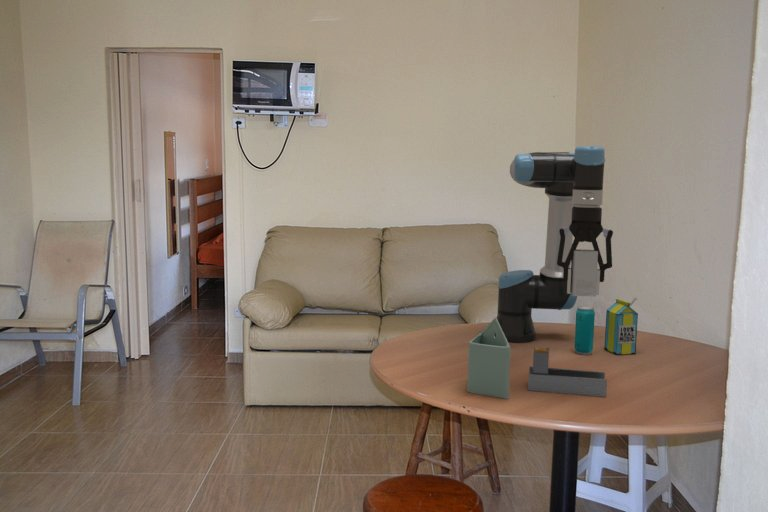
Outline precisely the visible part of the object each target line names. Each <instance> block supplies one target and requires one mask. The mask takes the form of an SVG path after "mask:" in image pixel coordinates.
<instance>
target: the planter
mask: <svg viewBox="0 0 768 512" xmlns="http://www.w3.org/2000/svg"><path fill="white" fill-rule="evenodd" d="M495 333H496V338H495ZM511 349H512V348H511V346H510V342H508V341H507V339H506V337H505V335H504V333H503V331H502V329H501V326H500V324H499V322H498V320H497V317H494V318H493V319H492V320H491V322H489V324H488V325H487V326H486V327H484V328H483V330H482V331H480V332H479V334H478V335H476V336H475V337H474V338H473V339H471V340H470V341H469V342H468V356H467V359H468V362H467V389H466V390H467V391H468V392H467V391H466V392H467V393H469V392H471V393H470V394H474V393H476V395H481V396H487V397H492V396H493V398H499V399H504V400H505V399H506V400H509V398H510V379H511V378H510V377H511V374H510V372H511Z"/></svg>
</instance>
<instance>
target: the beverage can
mask: <svg viewBox="0 0 768 512" xmlns="http://www.w3.org/2000/svg"><path fill="white" fill-rule="evenodd" d="M575 312H576V313H575V328H574V329H575V330H574V350H575V353H576V354H578V355H582V356H588V355H591V354H592V352H593V350H594V338H595V337H594V336H595V335H594V333H595V315H596V313H595V308H594V306H589V305H578V306H577V308H576V311H575Z"/></svg>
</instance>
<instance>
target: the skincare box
mask: <svg viewBox="0 0 768 512" xmlns="http://www.w3.org/2000/svg"><path fill="white" fill-rule="evenodd" d="M598 265H599V264H598V251H594V249H582V248H581V249H577V248H576V250H574V255H573V258H572V260H571V286H570V294H571V295H573V296H577V297H597V295H596V282H597V269H598Z"/></svg>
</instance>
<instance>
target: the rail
mask: <svg viewBox="0 0 768 512" xmlns="http://www.w3.org/2000/svg"><path fill="white" fill-rule="evenodd" d="M549 355H550V349H549V348H547V347H536V346H535V347H534V348H533V357H532V358H533V359H532V366H530V365H529V370H528V371H529V372H528V379H527V380H528V383H527V384H528V387H527V388H528V389H527V391H530V392H541V393H555V394H565V395H567V394H568V395H576V396H577V395H578V396H593V397H603V398H604V397H605V398H606V397H607V384H608V383H607V382H608V380H607V379H606V378H605V377H606V372H605V371H596V370H582V369H570V368H556V367H555V368H554V367H549V361H550V357H549Z"/></svg>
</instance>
